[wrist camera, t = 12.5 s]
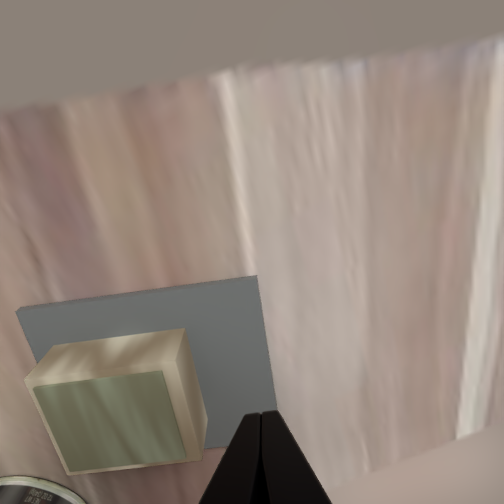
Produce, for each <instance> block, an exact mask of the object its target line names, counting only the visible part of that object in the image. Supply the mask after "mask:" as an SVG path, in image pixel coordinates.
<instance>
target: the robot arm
mask: <svg viewBox="0 0 504 504" xmlns="http://www.w3.org/2000/svg"><path fill="white" fill-rule="evenodd" d="M199 504H332V503H331V501H330V499H329V497H328V496H327V494H326V492H325V490H324V489H323V487H322V485H321V483H320V482H319V480H318V478H317V477H316V475H315V473H314V471H313V470H312V468H311V466H310V464H309V463H308V461H307V459H306V458H305V456H304V454H303V452H302V451H301V449H300V447H299V445H298V444H297V442H296V440H295V439H294V437H293V435H292V433H291V432H290V430H289V428H288V426H287V425H286V423H285V421H284V419H283V418H282V416H281V414H280V413H279V411H278V410H270V411H264V412H262V414H261V413H260V412H255V413H248V414H245V415H244V416H243V418H242V420H241V422H240V424H239V426H238V428H237V430H236V432H235V434H234V436H233V438H232V440H231V441H230V443H229V445H228V447H227V449H226V451H225V453H224V455H223V457H222V459H221V461H220V463H219V465H218V467H217V469H216V471H215V473H214V474H213V476H212V478H211V480H210V482H209V484H208V486H207V488H206V490H205V492H204V494H203V496H202V498H201V500H200V502H199Z"/></svg>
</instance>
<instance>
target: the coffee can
mask: <svg viewBox="0 0 504 504" xmlns="http://www.w3.org/2000/svg"><path fill="white" fill-rule="evenodd" d="M0 504H87V503H86V502H85V501H84V500H83V499H82V498H80V496H78V495H77V494H76V493H74V492H72V491H71V490H69V489H67V488H65V487H63V486H61V485H59V484H56V483H54V482H51V481H48V480H45V479H40V478H35V477H29V476H7V477H0Z"/></svg>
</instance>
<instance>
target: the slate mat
mask: <svg viewBox="0 0 504 504" xmlns="http://www.w3.org/2000/svg"><path fill="white" fill-rule="evenodd" d="M15 312H16V315H17V317H18V319H19V322H20V324H21V326H22V329H23V331H24V333H25V336H26V338H27V340H28V343H29V345H30V347H31V350H32V352H33V354H34V357H35V359H36V361H37V364H38V363H39V362H40V360H41V359H42V358H43V357H44V356H45V355H46V353H47V352H48V351H49V350H50V349H51V348H52V347H53V345H60V344H67V343H75V342H82V341H90V340H97V339H105V338H113V337H120V336H128V335H135V334H143V333H150V332H158V331H165V330H173V329H180V328H185V329H186V333H187V337H188V341H189V345H190V349H191V353H192V357H193V361H194V365H195V369H196V374H197V378H198V382H199V386H200V390H201V394H202V398H203V402H204V406H205V410H206V414H207V418H208V421H207V429H206V436H205V443H204V449H208V448H216V447H225V446H228V445H229V443H230V441H231V440H232V438H233V436H234V434H235V432H236V430H237V428H238V426H239V424H240V422H241V420H242V418H243V416H244V415H245V414H248V413H255V412H260V413H261V414H262V412H264V411H270V410H277V403H276V397H275V390H274V384H273V377H272V371H271V364H270V358H269V351H268V345H267V338H266V332H265V325H264V319H263V312H262V306H261V299H260V293H259V286H258V280H257V275H256V276H248V277H241V278H234V279H226V280H219V281H211V282H204V283H197V284H189V285H182V286H175V287H167V288H160V289H152V290H145V291H138V292H130V293H123V294H116V295H108V296H101V297H93V298H86V299H79V300H71V301H64V302H57V303H49V304H42V305H34V306H27V307H20V308H19V309H18V310H17V311H15Z"/></svg>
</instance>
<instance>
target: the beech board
mask: <svg viewBox="0 0 504 504" xmlns="http://www.w3.org/2000/svg"><path fill="white" fill-rule="evenodd" d="M24 381H25V383H26V386H27V388H28V390H29V392H30V394H31V397H32V399H33V401H34V403H35V405H36V408H37V410H38V412H39V414H40V416H41V419H42V421H43V423H44V425H45V427H46V430H47V432H48V434H49V436H50V438H51V441H52V443H53V445H54V447H55V449H56V451H57V454H58V456H59V458H60V460H61V462H62V465H63V467H64V469H65V471H66V473H67V476H71V475H80V474H88V473H97V472H106V471H114V470H123V469H132V468H140V467H149V466H158V465H166V464H175V463H184V462H192V461H201V460H202V457H203V450H204V443H205V436H206V429H207V421H208V418H207V414H206V410H205V406H204V402H203V398H202V394H201V390H200V386H199V382H198V378H197V374H196V369H195V365H194V361H193V357H192V353H191V349H190V345H189V341H188V337H187V333H186V329H185V328H180V329H173V330H165V331H158V332H150V333H143V334H135V335H128V336H120V337H113V338H105V339H97V340H90V341H82V342H75V343H67V344H60V345H53V347H52V348H51V349H50V350H49V351H48V352H47V353H46V355H45V356H44V357H43V358H42V359H41V360H40V362H39V363H38V364H37V365H36V366H35V367H34V368H33V370H32V371H31V372H30V373H29V374H28V375H27V377H26V378H25V379H24Z"/></svg>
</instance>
